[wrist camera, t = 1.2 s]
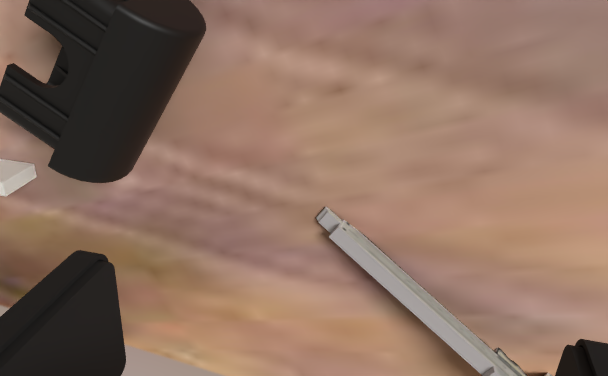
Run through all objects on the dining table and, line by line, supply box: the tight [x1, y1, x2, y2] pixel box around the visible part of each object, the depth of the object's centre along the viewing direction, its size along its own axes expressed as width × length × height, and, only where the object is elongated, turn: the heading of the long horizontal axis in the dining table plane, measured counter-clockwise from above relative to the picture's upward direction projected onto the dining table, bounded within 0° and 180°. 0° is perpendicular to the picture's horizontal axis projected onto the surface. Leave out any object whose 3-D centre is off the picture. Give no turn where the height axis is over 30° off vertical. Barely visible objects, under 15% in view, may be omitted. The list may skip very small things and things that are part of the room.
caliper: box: [316, 207, 552, 376], centre depth 32 cm, size 20×1×6 cm, turn 55°
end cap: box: [0, 0, 206, 183], centre depth 29 cm, size 10×7×7 cm
